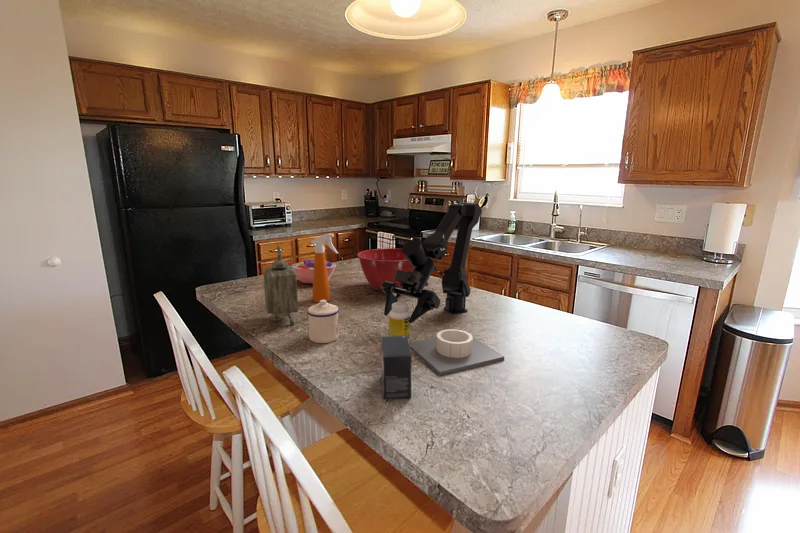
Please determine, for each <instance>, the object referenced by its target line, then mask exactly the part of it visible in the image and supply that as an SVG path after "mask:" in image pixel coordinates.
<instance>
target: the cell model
mask: <svg viewBox="0 0 800 533" xmlns="http://www.w3.org/2000/svg"><path fill="white" fill-rule="evenodd" d="M291 265H292V266H293V268H294V270H295V272H296V279H298V281H300V282H301V283H303V284H311V285H313V277H314V260H311V259H308V260H306V259H304V260H303V261H302V262H296V263H293V264H291ZM326 266H327V274H328V280H330V278H331V276H332V275H333V273H334V272H335V269H336V267H337V263H335V262H331V261H328V260H326Z"/></svg>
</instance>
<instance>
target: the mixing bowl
mask: <svg viewBox="0 0 800 533" xmlns="http://www.w3.org/2000/svg"><path fill="white" fill-rule="evenodd" d="M357 256H358V259H359V264H360V267H361V269H362V272H363V275H364V276H365V278H366V281H367V282H368V284H369V286H370V287H372V288H373V289H375V290H376V291H378V292H380V293H381V292H382V293H384V292H383V289H382V288H381V286H382V284H383V282H384V281H390V282H394V283H396V285H397V286H398V287H399V288H403V287H402V286H401V285H400V282H398V281H394V278H395V275H396V271H397V270H400V271H405V272H408V271H412V269H413V267H414V266H413V265H411V264H410V263H409V261H408V260H407V258H406V257H405V255H404V254H403V252H402V248H374V249H367V250H363V251H359V252H358V253H357Z"/></svg>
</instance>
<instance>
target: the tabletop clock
mask: <svg viewBox="0 0 800 533" xmlns="http://www.w3.org/2000/svg"><path fill="white" fill-rule="evenodd" d="M276 248H277V250H276V251H277V260H275V261H273V263H272V264H271V266H269V267H267V268H265V269H263V271H262V272H263V286H264V301H265V307H266V308H265V309H266V312H267V313H268V314H270V315H273V316H274V317H272V321H274V322H278V320H279V316H278V315H286V316H287V317H288V319H289V320H290V321H289V324H290V325H291V326H293V325H295V324H296V321H295V320H294V319H292V316H291V314H293V313H299V299H298V298H299V297H298V296H299V295H298V283H297V281H298V280H297V279H298V278H297V277H296V272H295V270H294V268H293V266H292V265H293V264H291V265H289V264H288V262H287V261H285V260H284V259H282V250H281V247H280V246H279V245H277V247H276Z"/></svg>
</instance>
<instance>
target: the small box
mask: <svg viewBox="0 0 800 533" xmlns="http://www.w3.org/2000/svg"><path fill="white" fill-rule="evenodd" d="M409 343H410V342H409V341H408V338H407V336H389V335H388V336H381V349H380V353H381V354H380V356H381V357H380V358H381V359H380V361H381V362H380V363H381V366H380V367H381V385H382V396H383V400H384V401H385V399H387V400H407V399H408V400H411V399H412V358H413V355H412V351H411V350H410V346H409Z"/></svg>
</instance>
